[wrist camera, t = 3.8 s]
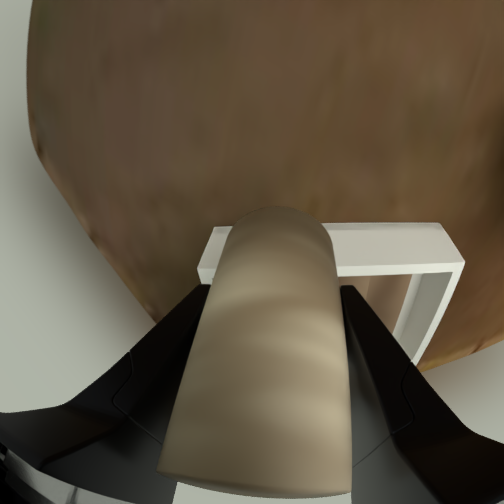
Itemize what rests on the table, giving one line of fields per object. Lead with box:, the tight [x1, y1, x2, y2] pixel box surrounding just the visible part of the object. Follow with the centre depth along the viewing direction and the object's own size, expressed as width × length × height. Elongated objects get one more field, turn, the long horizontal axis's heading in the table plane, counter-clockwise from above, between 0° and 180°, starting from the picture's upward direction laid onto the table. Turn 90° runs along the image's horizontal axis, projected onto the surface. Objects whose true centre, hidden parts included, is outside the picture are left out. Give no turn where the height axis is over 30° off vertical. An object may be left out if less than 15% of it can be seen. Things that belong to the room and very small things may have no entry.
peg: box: [156, 206, 352, 499], centre depth 7 cm, size 4×4×8 cm
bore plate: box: [338, 274, 412, 334], centre depth 24 cm, size 12×12×2 cm
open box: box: [197, 223, 465, 366], centre depth 23 cm, size 18×16×5 cm
